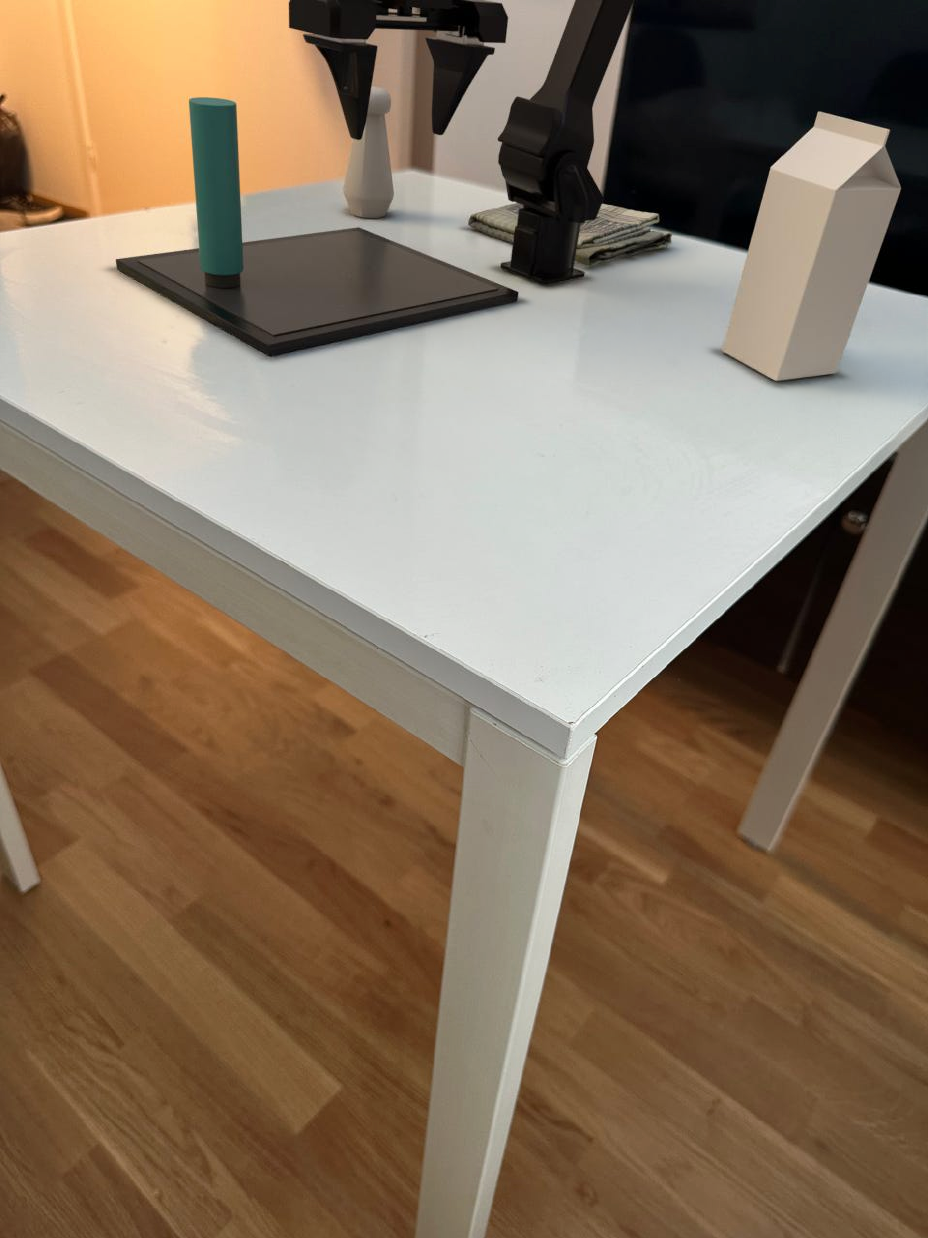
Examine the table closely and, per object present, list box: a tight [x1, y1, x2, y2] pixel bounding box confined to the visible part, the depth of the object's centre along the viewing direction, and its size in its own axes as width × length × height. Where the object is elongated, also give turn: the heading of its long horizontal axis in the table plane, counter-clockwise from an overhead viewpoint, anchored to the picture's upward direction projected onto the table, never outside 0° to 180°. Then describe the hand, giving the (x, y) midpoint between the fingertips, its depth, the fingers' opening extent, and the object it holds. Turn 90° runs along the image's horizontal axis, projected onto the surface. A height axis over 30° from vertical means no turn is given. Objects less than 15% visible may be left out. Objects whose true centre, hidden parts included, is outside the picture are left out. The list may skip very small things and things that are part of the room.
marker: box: [188, 96, 243, 288], centre depth 76 cm, size 4×4×14 cm
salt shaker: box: [342, 86, 395, 219], centre depth 105 cm, size 6×6×13 cm
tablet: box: [115, 226, 520, 357], centre depth 85 cm, size 28×24×1 cm
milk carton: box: [721, 111, 902, 382], centre depth 75 cm, size 7×7×19 cm
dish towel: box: [467, 202, 673, 268], centre depth 107 cm, size 19×18×3 cm
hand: (398, 136), depth 79 cm, fingers open, 9 cm apart
